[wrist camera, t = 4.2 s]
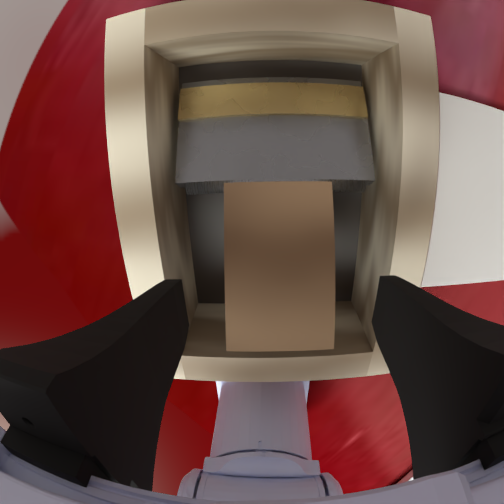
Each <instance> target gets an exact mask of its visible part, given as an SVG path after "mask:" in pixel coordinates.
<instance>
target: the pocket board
mask: <svg viewBox="0 0 504 504" xmlns="http://www.w3.org/2000/svg"><path fill="white" fill-rule="evenodd" d="M259 77H302V78H325V79H339V80H351V81H360V82H361V87H363V90H364V95H365V101H366V106H367V112H368V119H367V120H368V126H369V133H370V140H371V147H372V155H373V164H374V173H375V181H374V182H373V183H372V184H370V185H366V189H365V192H333V210H334V234H335V334H334V349H326V350H306V351H266V352H242V351H226V322H225V276H224V193H213V194H192V195H187V194H186V191H185V188H180V187H179V186H178V185H177V184H175V176H176V155H177V139H178V125H179V121H178V111H179V100H180V90H181V89H182V84H183V83H191V82H200V81H210V80H221V79H236V78H259ZM104 80H105V115H106V132H107V145H108V156H109V166H110V175H111V183H112V191H113V199H114V205H115V212H116V218H117V224H118V230H119V236H120V241H121V247H122V252H123V257H124V262H125V267H126V271H127V276H128V280H129V285H130V289H131V293H132V297H133V300H134V299H135V298H137V297H138V296H140V295H141V294H143V293H144V292H146V291H147V290H149V289H150V288H152V287H153V286H155V285H156V284H158V283H160V282H161V281H163V280H166V279H182V284H183V291H184V297H185V303H186V309H187V315H188V321H189V330H188V335H187V340H186V344H185V348H184V351H183V354H182V357H181V360H180V362H179V365H178V368H177V371H176V373H175V376H174V378H175V379H188V380H204V381H227V382H290V381H313V380H329V379H342V378H353V377H362V376H371V375H379V374H387V373H390V371H389V369H388V367H387V364H386V362H385V360H384V358H383V355H382V353H381V351H380V348H379V346H378V344H377V340H376V337H375V333H374V330H373V326H372V322H371V321H372V317H373V312H374V306H375V301H376V296H377V290H378V284H379V278H380V276H388V275H395V276H398V277H400V278H402V279H405V280H406V281H408V282H410V283H412V284H414V285H416V286H417V287H419V288H420V286H421V282H422V277H423V273H424V268H425V263H426V258H427V252H428V247H429V241H430V235H431V228H432V221H433V214H434V206H435V197H436V186H437V174H438V159H439V86H438V71H437V60H436V50H435V42H434V35H433V28H432V22H431V16H428V15H425V14H421V13H418V12H414V11H410V10H406V9H403V8H398V7H394V6H390V5H385V4H380V3H375V2H370V1H364V0H184V1H178V2H172V3H167V4H162V5H158V6H153V7H149V8H145V9H140V10H137V11H133V12H129V13H125V14H122V15H119V16H115V17H112V18H109V19H106V34H105V67H104Z"/></svg>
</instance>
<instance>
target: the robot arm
mask: <svg viewBox="0 0 504 504" xmlns="http://www.w3.org/2000/svg"><path fill="white" fill-rule="evenodd" d="M371 322H372V326H373V330H374V333H375V337H376V340H377V344H378V346H379V348H380V351H381V353H382V355H383V358H384V360H385V362H386V364H387V367H388V369H389V371H390V374H391V376H392V378H393V381H394V383H395V386H396V388H397V391H398V394H399V397H400V400H401V404H402V408H403V412H404V416H405V421H406V425H407V431H408V436H409V442H410V449H411V457H412V467H413V480H411V481H407V482H403V483H399V484H395V485H391V486H387V487H382V488H377V489H372V490H367V491H362V492H356V493H349V494H343V492H342V489H341V486H340V484H339V483H338V481H337V480H336V479H334V478H333V476H332V475H331V474H330V473H320V467H319V461H318V460H312V456H311V446H310V436H309V426H308V417H307V407H306V404H307V397H308V390H309V382H310V381H290V382H227V381H216V386H217V392H218V397H219V404H218V410H217V417H216V423H215V429H214V436H213V442H212V449H211V455H210V457H205V461H204V467H203V470H202V469H193V470H192V471H191V472H190V473H188V474H187V475H186V476H185V477H184V478H183V479H182V481H181V484H180V487H179V490H178V495H177V496H174V495H168V494H162V493H157V492H152V485H153V472H154V464H155V456H156V449H157V442H158V437H159V431H160V425H161V420H162V416H163V411H164V406H165V402H166V399H167V396H168V392H169V390H170V387H171V384H172V381H173V379H174V376H175V373H176V371H177V368H178V365H179V362H180V360H181V357H182V354H183V351H184V348H185V344H186V340H187V335H188V330H189V321H188V315H187V309H186V303H185V297H184V291H183V284H182V279H166V280H163V281H161V282H160V283H158V284H156V285H155V286H153V287H152V288H150V289H149V290H147V291H146V292H144V293H143V294H141V295H140V296H138V297H137V298H135V299H134V300H132V301H131V302H129V303H127V304H126V305H124V306H122V307H121V308H119V309H117V310H116V311H114V312H112V313H111V314H109V315H107V316H105V317H103V318H101V319H100V320H98V321H95V322H93V323H91V324H89V325H87V326H85V327H82V328H80V329H77V330H75V331H72V332H69V333H67V334H64V335H62V336H59V337H55V338H52V339H49V340H45V341H41V342H37V343H33V344H28V345H23V346H17V347H11V348H3V349H1V350H0V412H1V414H2V415H3V416H4V418H5V419H6V420H7V421H8V423H9V424H10V427H9V429H8V430H7V431H5V430H4V429H3V428H2V427H1V426H0V504H504V326H503V325H500V324H497V323H494V322H490V321H487V320H484V319H482V318H479V317H477V316H474V315H472V314H469V313H467V312H465V311H462V310H460V309H458V308H456V307H454V306H452V305H450V304H448V303H446V302H444V301H442V300H441V299H439V298H437V297H435V296H433V295H432V294H430V293H428V292H426V291H424V290H423V289H421V288H419V287H417V286H416V285H414V284H412V283H410V282H408V281H406V280H405V279H402V278H400V277H398V276H395V275H388V276H380V278H379V284H378V290H377V296H376V301H375V306H374V312H373V317H372V321H371Z"/></svg>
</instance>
